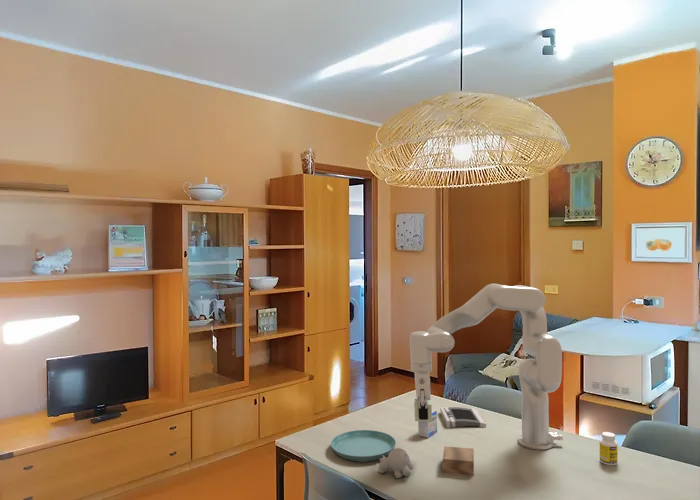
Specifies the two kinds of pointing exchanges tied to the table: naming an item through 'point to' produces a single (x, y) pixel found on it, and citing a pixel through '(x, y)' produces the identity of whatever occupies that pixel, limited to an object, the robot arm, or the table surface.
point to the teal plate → (363, 445)
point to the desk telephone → (461, 417)
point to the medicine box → (428, 426)
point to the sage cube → (416, 406)
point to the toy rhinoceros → (396, 463)
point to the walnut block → (458, 460)
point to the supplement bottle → (608, 449)
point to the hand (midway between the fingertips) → (423, 415)
